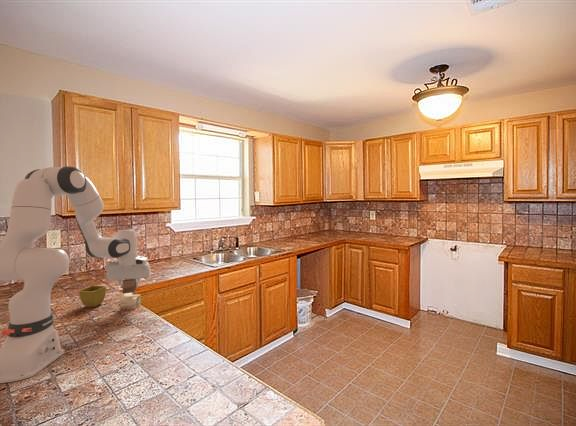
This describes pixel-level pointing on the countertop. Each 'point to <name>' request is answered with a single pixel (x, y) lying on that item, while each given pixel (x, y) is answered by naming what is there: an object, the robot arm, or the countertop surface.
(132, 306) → the maple block
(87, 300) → the flower pot
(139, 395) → the countertop surface
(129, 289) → the walnut cube
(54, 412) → the countertop surface
